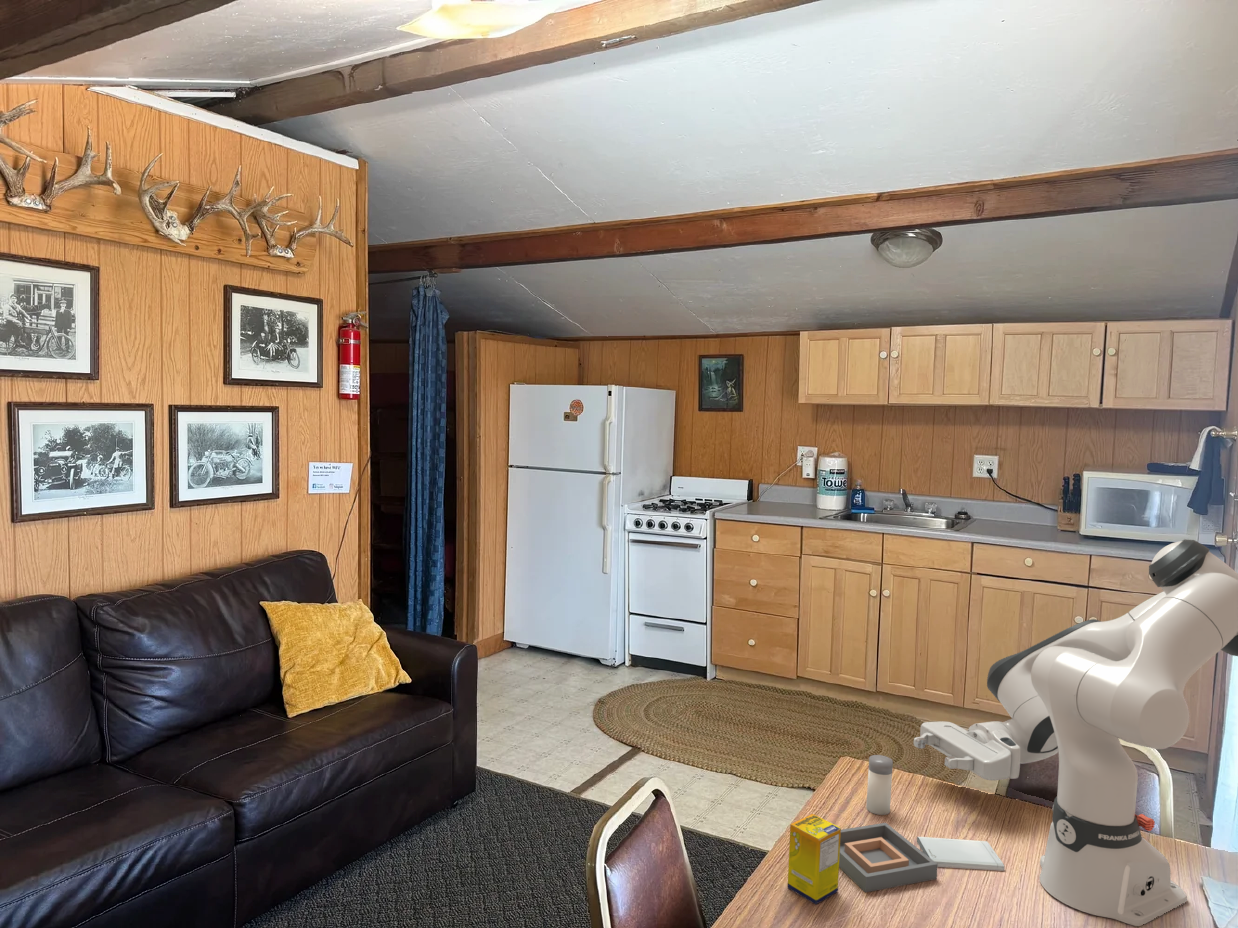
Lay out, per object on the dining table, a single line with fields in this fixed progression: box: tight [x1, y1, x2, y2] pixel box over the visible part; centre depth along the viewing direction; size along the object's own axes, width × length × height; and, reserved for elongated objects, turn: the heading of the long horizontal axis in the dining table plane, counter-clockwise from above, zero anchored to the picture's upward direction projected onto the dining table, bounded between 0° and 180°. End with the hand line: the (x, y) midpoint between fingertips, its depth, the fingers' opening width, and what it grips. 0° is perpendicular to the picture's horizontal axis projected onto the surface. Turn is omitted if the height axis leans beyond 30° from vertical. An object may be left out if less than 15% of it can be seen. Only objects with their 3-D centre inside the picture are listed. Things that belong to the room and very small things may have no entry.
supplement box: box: [787, 813, 842, 905], centre depth 135 cm, size 6×6×11 cm
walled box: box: [839, 822, 938, 893], centre depth 144 cm, size 14×14×3 cm
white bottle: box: [865, 754, 894, 816], centre depth 163 cm, size 4×4×10 cm
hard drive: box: [916, 836, 1005, 872], centre depth 147 cm, size 2×8×12 cm
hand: (930, 753), depth 166 cm, fingers open, 8 cm apart
